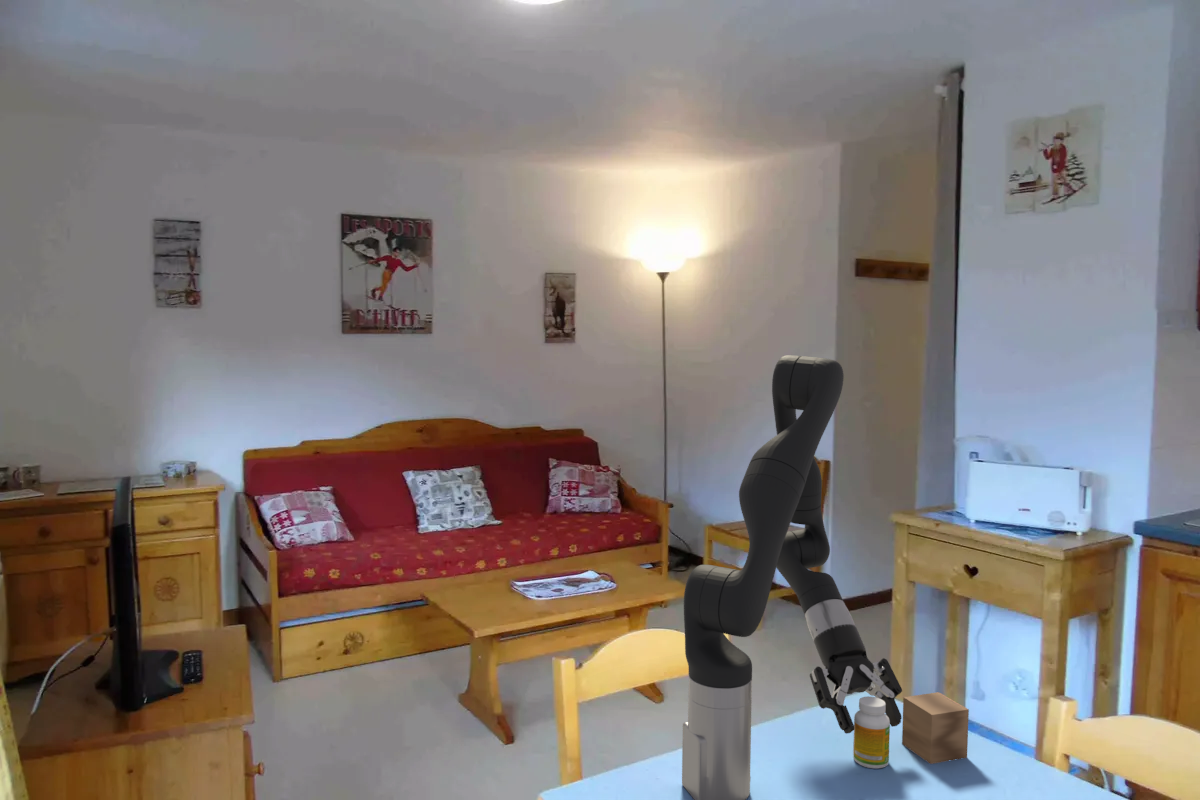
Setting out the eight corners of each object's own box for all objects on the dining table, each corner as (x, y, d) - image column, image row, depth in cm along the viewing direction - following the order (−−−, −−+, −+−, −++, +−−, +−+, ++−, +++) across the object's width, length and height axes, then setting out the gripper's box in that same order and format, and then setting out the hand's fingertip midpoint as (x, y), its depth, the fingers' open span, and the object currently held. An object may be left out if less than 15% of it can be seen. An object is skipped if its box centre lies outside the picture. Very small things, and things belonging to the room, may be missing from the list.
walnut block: (930, 764, 133) (932, 714, 132) (902, 744, 139) (903, 697, 139) (967, 758, 135) (968, 709, 134) (937, 738, 141) (938, 692, 141)
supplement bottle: (890, 771, 130) (892, 710, 130) (854, 767, 131) (856, 707, 131) (886, 754, 136) (888, 695, 135) (851, 751, 137) (853, 692, 136)
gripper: (806, 626, 138) (844, 725, 128) (880, 618, 142) (923, 713, 132) (788, 647, 143) (824, 743, 133) (860, 638, 148) (900, 731, 137)
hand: (873, 728), depth 133 cm, fingers open, 8 cm apart
